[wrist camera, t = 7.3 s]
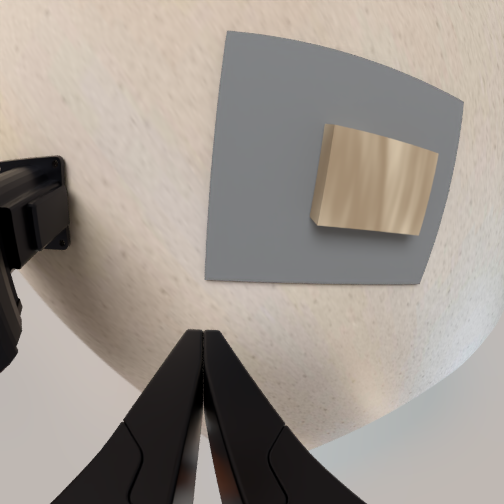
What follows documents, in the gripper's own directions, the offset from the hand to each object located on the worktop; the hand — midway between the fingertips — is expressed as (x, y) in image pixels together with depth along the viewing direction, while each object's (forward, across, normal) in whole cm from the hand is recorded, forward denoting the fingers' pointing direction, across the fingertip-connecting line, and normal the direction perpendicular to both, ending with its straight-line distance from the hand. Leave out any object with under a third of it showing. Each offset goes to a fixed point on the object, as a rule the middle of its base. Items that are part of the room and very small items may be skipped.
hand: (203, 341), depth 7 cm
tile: (+11, -6, -3) cm, 13 cm away
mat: (+12, -9, -3) cm, 15 cm away
